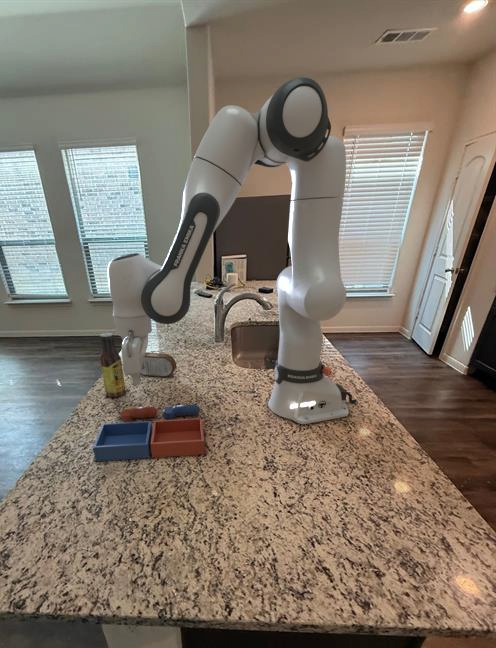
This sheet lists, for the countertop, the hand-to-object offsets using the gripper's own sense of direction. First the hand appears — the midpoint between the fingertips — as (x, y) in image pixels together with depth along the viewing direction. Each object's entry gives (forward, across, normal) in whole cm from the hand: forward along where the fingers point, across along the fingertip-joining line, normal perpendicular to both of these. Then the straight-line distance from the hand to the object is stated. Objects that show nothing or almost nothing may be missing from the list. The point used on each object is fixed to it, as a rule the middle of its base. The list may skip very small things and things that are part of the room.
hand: (139, 375), depth 83 cm
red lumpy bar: (+13, 0, +2) cm, 13 cm away
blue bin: (+13, -13, +3) cm, 19 cm away
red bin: (+13, -13, -10) cm, 21 cm away
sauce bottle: (+13, +15, +11) cm, 23 cm away
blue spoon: (+13, 0, -10) cm, 17 cm away
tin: (+13, +27, -1) cm, 30 cm away
